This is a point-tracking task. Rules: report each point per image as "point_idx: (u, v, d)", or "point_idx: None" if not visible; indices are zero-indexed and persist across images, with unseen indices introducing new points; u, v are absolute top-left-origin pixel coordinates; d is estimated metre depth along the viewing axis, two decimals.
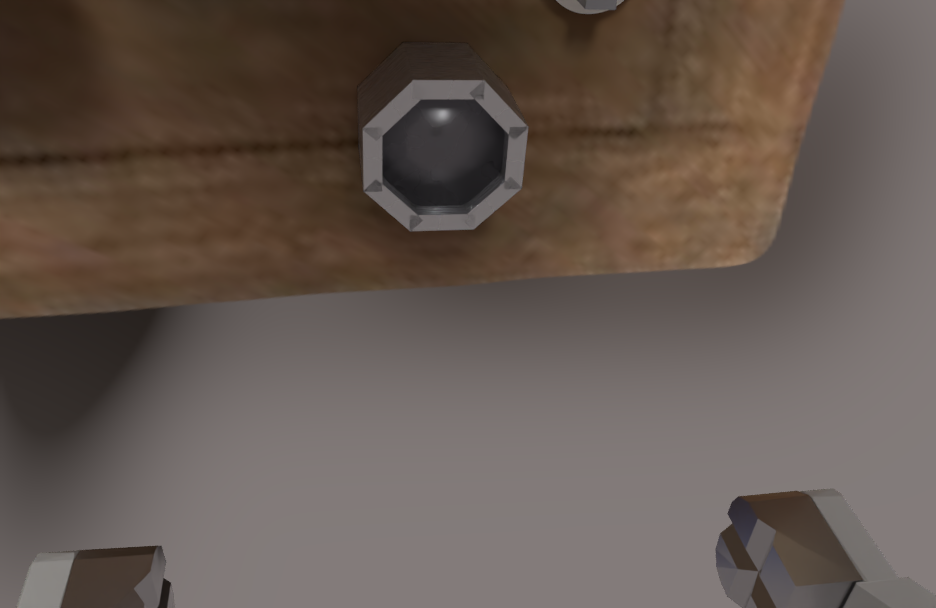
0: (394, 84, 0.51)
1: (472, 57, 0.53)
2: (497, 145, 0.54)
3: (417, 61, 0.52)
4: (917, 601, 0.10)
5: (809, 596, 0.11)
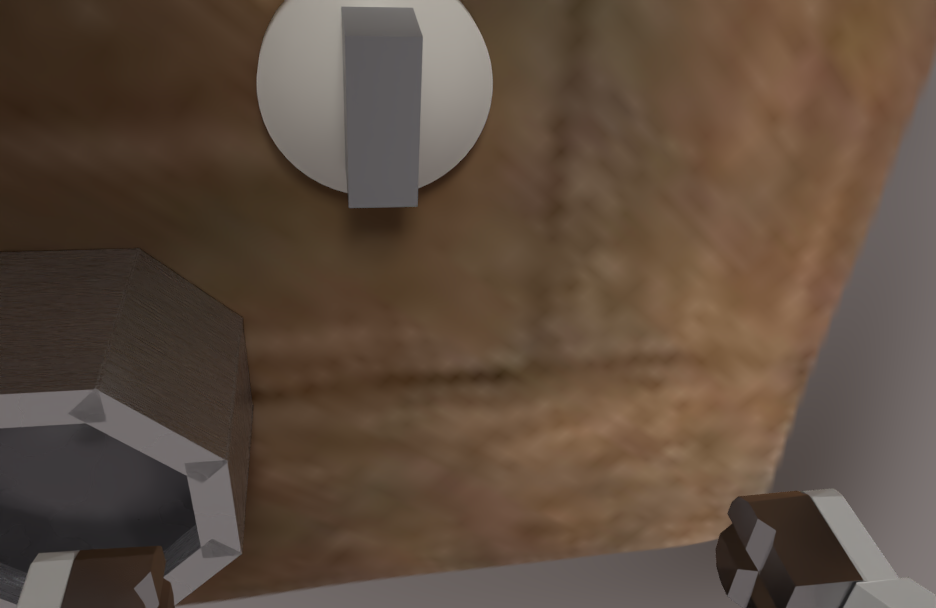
0: None
1: (120, 299, 0.25)
2: (182, 475, 0.26)
3: None
4: (917, 601, 0.10)
5: (809, 596, 0.11)
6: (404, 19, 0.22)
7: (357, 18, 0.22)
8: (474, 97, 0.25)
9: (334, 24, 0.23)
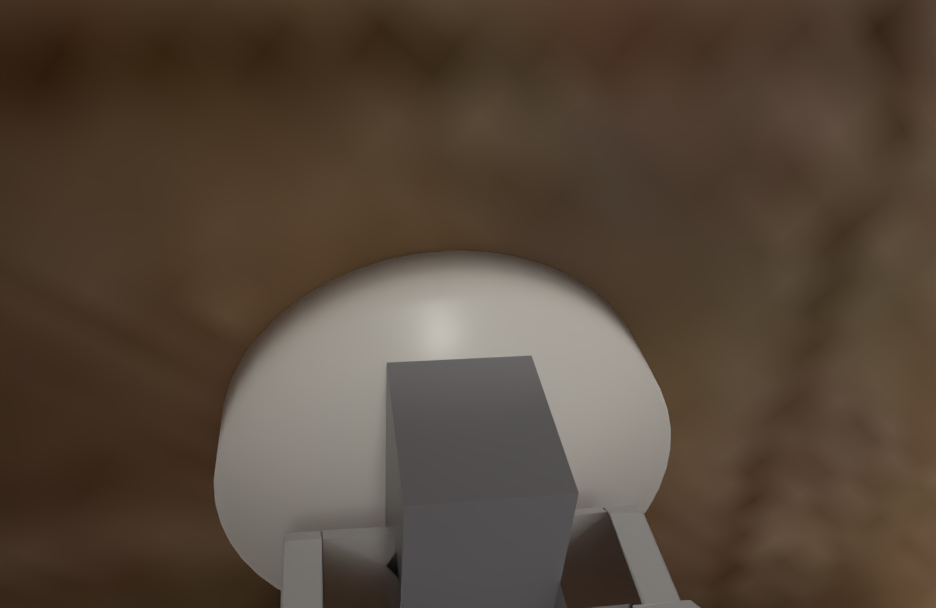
0: None
1: None
2: None
3: None
4: None
5: None
6: (522, 408, 0.11)
7: (424, 416, 0.10)
8: (631, 478, 0.13)
9: (371, 391, 0.11)
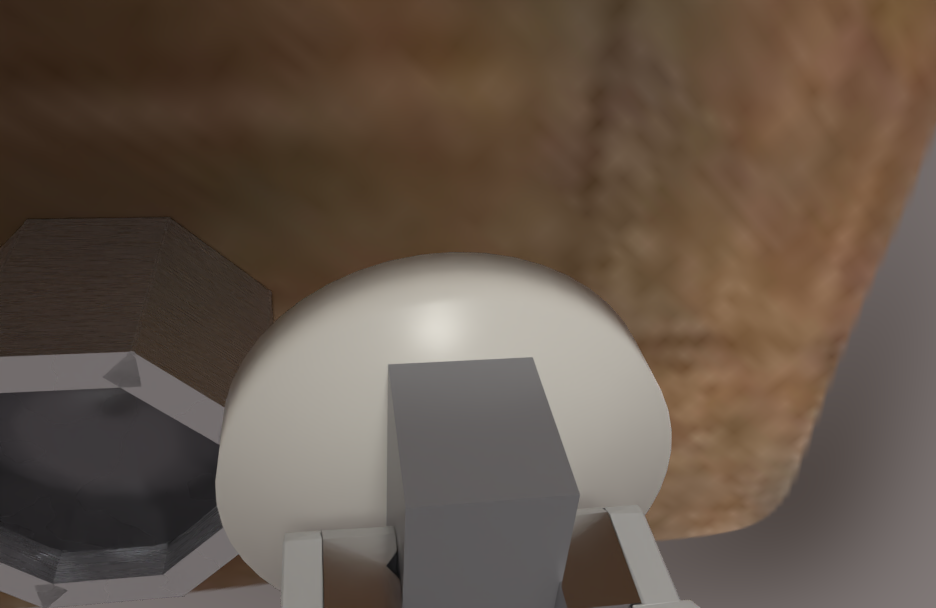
0: None
1: (153, 265, 0.25)
2: (213, 447, 0.25)
3: (13, 284, 0.23)
4: None
5: None
6: (524, 409, 0.11)
7: (426, 417, 0.10)
8: (632, 479, 0.13)
9: (372, 392, 0.11)
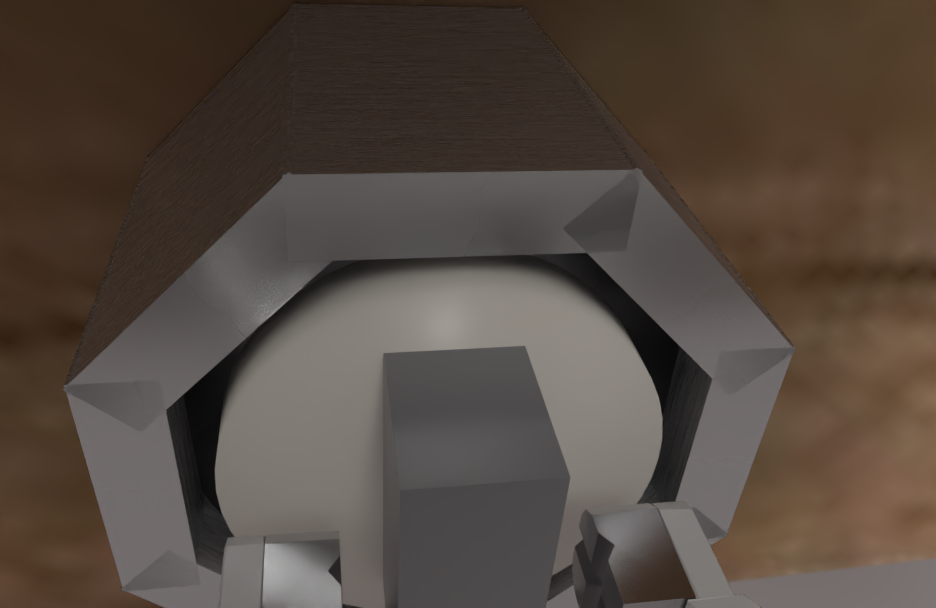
0: (222, 177, 0.12)
1: (555, 58, 0.14)
2: None
3: (330, 75, 0.12)
4: None
5: None
6: (516, 396, 0.11)
7: (421, 404, 0.11)
8: (624, 467, 0.14)
9: (368, 381, 0.12)
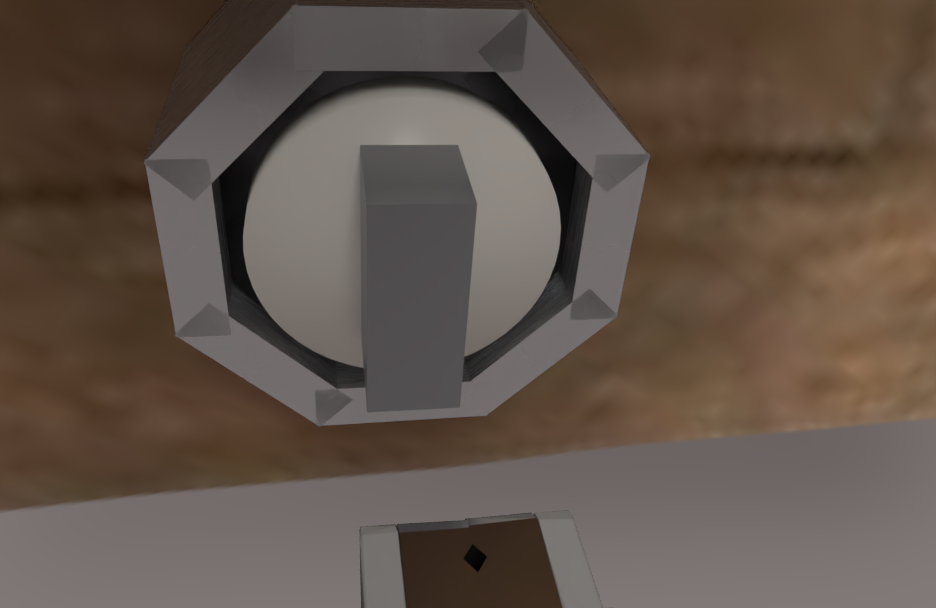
0: (249, 27, 0.17)
1: None
2: None
3: None
4: None
5: None
6: (448, 168, 0.16)
7: (383, 168, 0.16)
8: (535, 252, 0.19)
9: (350, 167, 0.17)
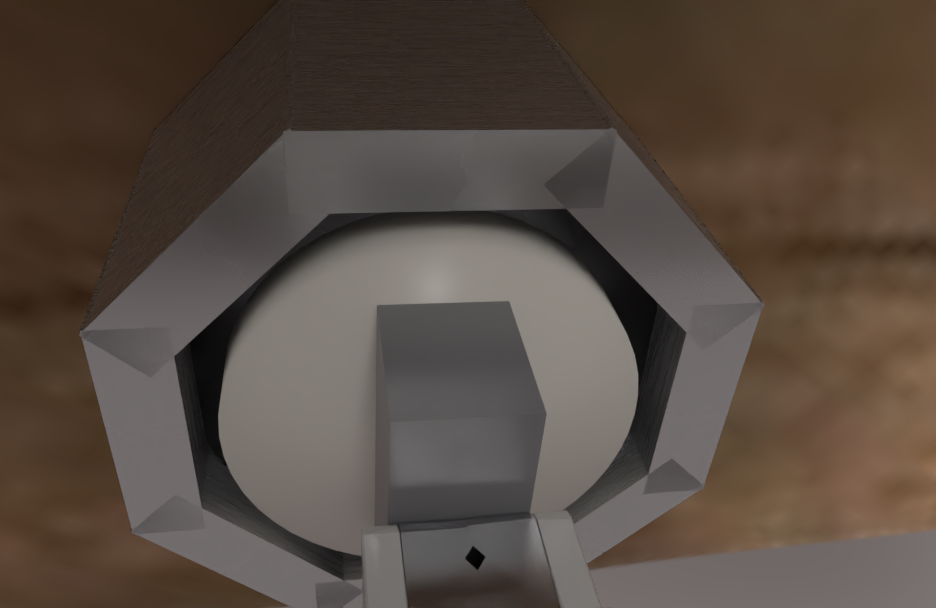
0: (227, 140, 0.12)
1: (540, 32, 0.14)
2: None
3: (328, 46, 0.13)
4: None
5: None
6: (499, 344, 0.12)
7: (410, 348, 0.11)
8: (603, 422, 0.14)
9: (363, 332, 0.12)
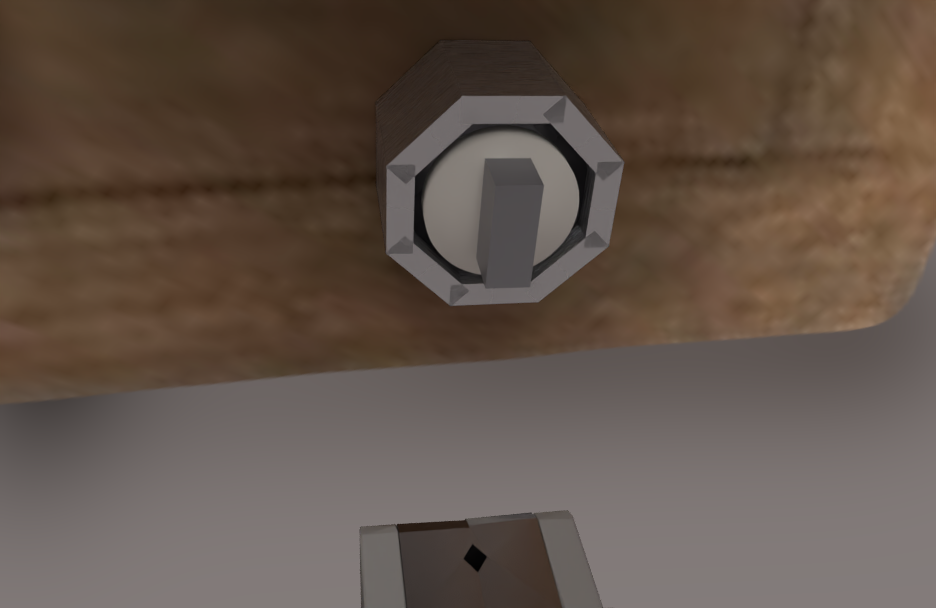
0: (432, 101, 0.35)
1: (541, 61, 0.37)
2: None
3: (464, 67, 0.36)
4: None
5: None
6: (528, 169, 0.35)
7: (498, 169, 0.34)
8: (566, 211, 0.37)
9: (479, 169, 0.35)
